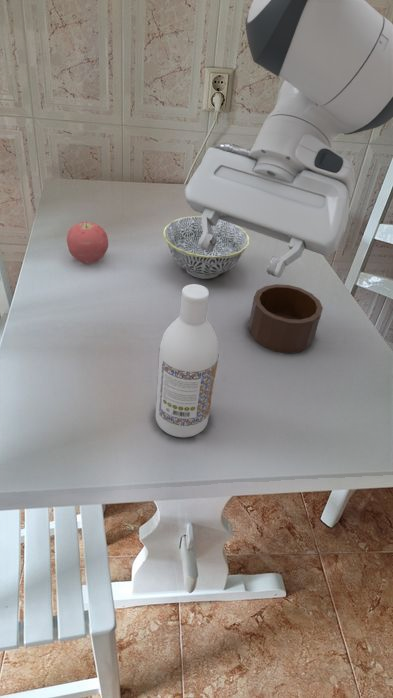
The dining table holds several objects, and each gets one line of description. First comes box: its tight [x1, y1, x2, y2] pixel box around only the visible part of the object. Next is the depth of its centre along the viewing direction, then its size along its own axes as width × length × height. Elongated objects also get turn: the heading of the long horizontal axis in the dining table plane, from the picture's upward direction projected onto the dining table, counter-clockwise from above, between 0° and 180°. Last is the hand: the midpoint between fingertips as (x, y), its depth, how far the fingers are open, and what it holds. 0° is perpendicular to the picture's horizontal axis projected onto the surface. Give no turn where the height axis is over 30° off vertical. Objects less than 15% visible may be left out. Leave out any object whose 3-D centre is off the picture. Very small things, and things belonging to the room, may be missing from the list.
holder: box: [248, 283, 324, 354], centre depth 79 cm, size 11×11×6 cm
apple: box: [66, 220, 109, 265], centre depth 91 cm, size 7×7×8 cm
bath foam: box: [155, 283, 220, 438], centre depth 58 cm, size 7×7×20 cm
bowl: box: [163, 215, 250, 280], centre depth 92 cm, size 16×16×8 cm
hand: (237, 261), depth 59 cm, fingers open, 8 cm apart
